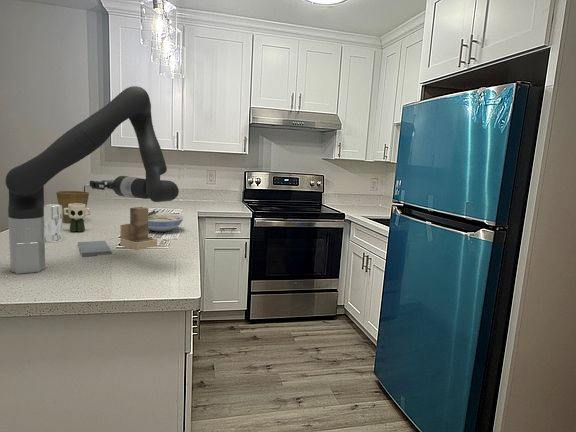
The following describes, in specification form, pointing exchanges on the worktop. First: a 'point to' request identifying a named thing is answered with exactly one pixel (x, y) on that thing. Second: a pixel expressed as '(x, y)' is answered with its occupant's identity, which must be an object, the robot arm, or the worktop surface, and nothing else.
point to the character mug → (77, 216)
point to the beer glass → (53, 222)
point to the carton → (130, 244)
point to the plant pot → (71, 200)
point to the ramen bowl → (163, 221)
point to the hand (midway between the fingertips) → (101, 183)
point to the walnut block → (138, 224)
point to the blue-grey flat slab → (93, 248)
